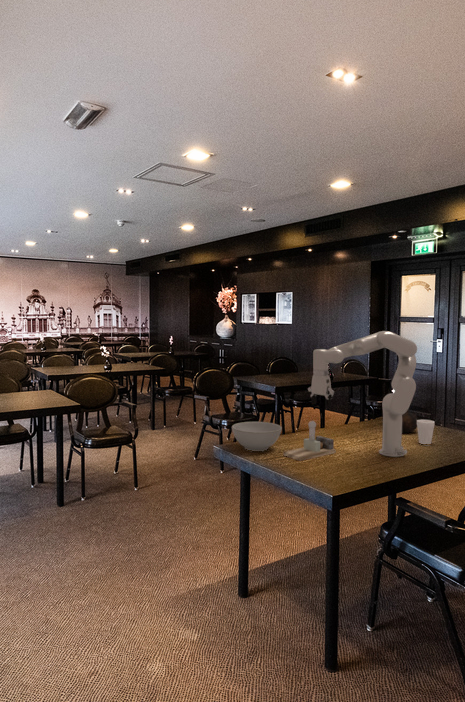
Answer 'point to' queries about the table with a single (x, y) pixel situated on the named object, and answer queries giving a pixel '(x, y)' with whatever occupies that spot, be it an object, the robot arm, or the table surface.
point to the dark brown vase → (409, 422)
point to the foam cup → (425, 431)
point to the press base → (307, 454)
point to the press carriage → (312, 439)
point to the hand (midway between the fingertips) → (320, 405)
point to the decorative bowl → (256, 434)
